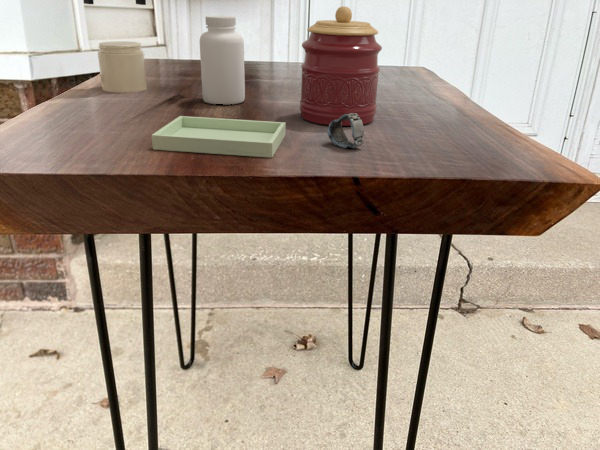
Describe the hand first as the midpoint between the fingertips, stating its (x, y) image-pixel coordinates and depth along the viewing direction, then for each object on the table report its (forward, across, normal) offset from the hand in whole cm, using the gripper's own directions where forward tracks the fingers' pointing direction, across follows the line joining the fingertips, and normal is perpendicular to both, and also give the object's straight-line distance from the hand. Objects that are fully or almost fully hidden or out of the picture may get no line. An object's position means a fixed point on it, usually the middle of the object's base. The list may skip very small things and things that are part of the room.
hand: (115, 4), depth 92 cm
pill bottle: (+17, +15, -10) cm, 25 cm away
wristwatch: (+16, +14, -45) cm, 50 cm away
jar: (+16, 0, 0) cm, 16 cm away
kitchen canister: (+16, +25, -32) cm, 43 cm away
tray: (+16, +1, -34) cm, 38 cm away
